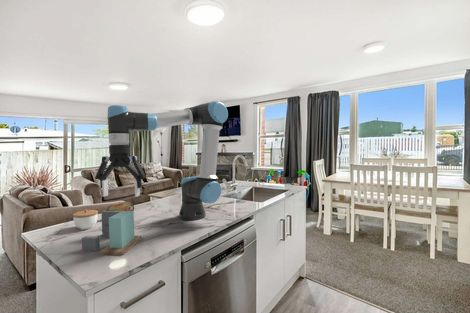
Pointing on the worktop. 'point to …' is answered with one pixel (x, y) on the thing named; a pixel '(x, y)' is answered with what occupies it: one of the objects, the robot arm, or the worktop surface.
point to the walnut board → (120, 250)
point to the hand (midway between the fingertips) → (121, 196)
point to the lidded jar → (85, 219)
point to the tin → (121, 207)
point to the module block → (121, 229)
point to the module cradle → (93, 241)
